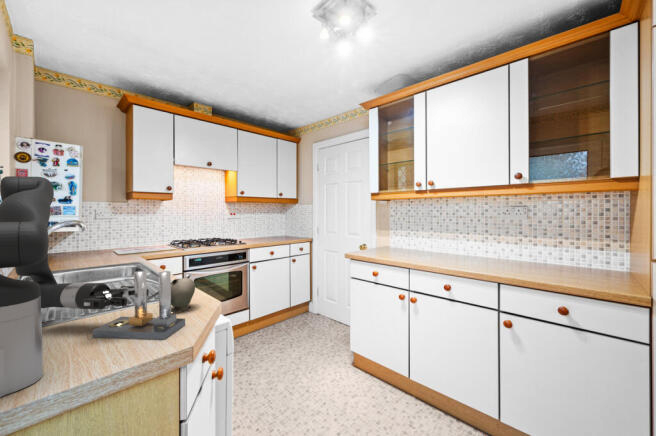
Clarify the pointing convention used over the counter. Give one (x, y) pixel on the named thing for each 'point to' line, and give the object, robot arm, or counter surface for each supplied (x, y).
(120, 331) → the pitch plate
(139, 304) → the sliding leg
